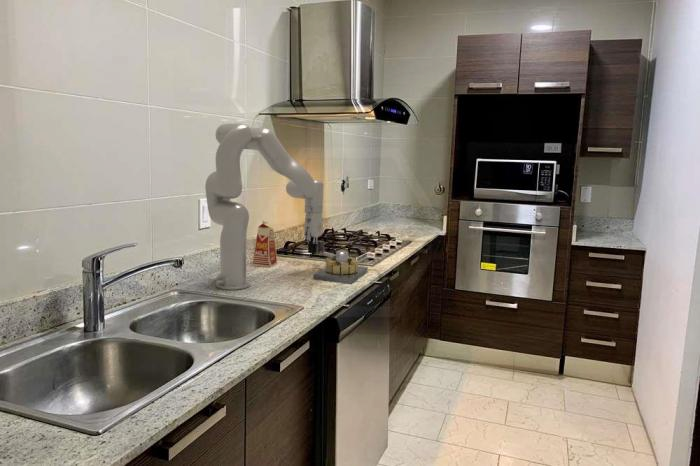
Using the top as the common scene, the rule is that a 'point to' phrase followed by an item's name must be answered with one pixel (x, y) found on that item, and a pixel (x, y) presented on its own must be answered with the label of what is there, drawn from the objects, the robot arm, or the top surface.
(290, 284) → the top surface
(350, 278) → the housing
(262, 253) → the milk carton
